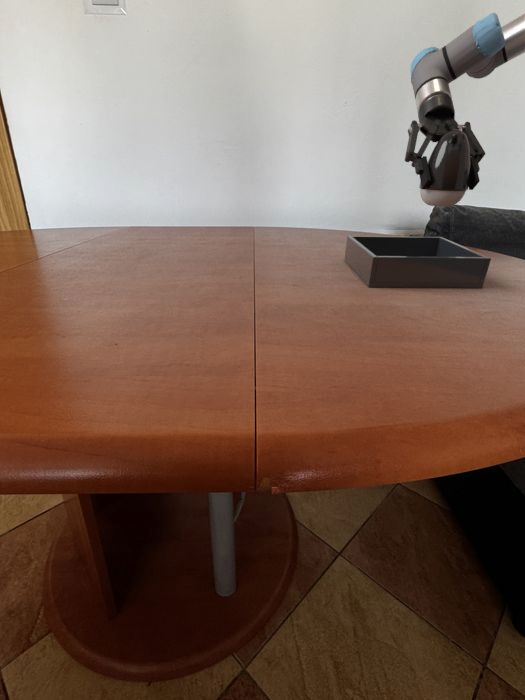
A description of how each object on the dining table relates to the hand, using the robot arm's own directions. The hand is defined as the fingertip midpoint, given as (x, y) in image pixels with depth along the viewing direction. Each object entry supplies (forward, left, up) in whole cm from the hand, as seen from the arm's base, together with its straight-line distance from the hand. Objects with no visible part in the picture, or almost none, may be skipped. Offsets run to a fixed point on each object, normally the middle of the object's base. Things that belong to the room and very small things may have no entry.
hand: (450, 185), depth 82 cm
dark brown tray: (+16, +23, -13) cm, 31 cm away
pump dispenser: (0, -3, -5) cm, 6 cm away
